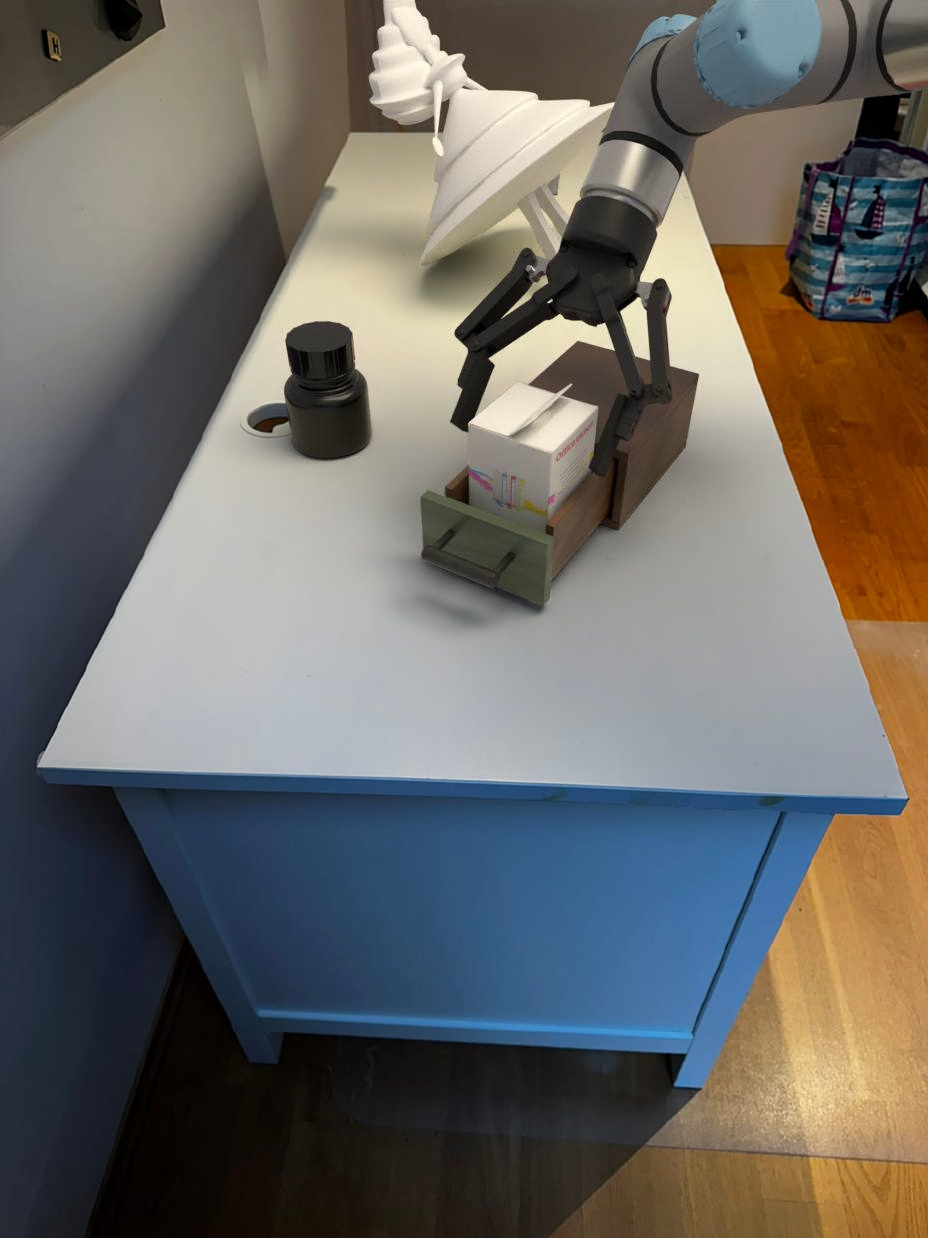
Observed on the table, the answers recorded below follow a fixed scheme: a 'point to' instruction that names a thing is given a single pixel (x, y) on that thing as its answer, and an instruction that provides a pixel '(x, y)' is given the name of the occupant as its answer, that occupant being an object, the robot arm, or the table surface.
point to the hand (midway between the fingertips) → (525, 449)
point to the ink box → (529, 454)
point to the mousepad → (554, 185)
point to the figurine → (478, 136)
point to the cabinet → (656, 429)
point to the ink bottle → (326, 391)
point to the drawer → (510, 536)
